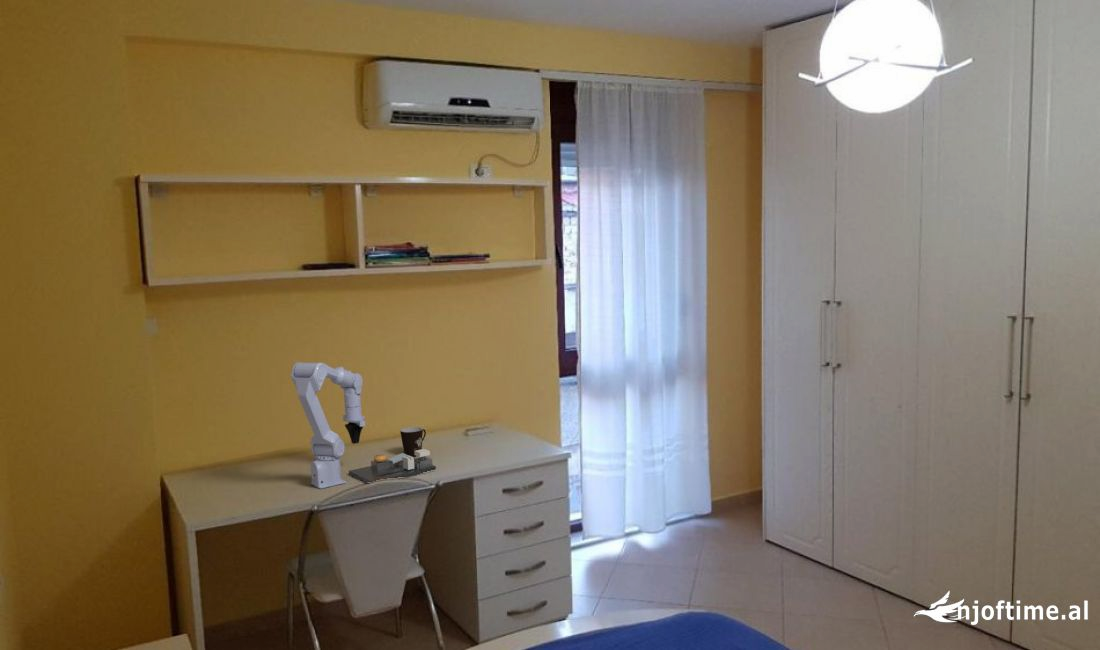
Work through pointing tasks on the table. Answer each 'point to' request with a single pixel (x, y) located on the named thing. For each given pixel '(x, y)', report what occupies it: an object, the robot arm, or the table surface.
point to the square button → (422, 453)
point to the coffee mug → (412, 439)
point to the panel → (391, 470)
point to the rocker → (396, 458)
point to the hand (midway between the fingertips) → (355, 443)
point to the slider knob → (408, 462)
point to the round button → (380, 458)
